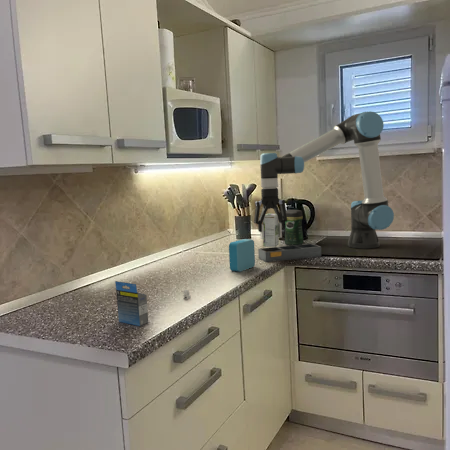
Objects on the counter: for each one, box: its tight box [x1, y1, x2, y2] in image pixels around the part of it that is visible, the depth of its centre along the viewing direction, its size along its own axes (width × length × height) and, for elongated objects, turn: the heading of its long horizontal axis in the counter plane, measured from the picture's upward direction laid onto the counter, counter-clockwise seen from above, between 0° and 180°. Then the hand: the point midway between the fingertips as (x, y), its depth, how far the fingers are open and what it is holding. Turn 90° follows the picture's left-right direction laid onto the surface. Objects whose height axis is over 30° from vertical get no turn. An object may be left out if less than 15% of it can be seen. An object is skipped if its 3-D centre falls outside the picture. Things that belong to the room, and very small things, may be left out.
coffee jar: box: [284, 209, 305, 246], centre depth 243 cm, size 10×8×19 cm
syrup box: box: [262, 213, 280, 248], centre depth 208 cm, size 6×6×14 cm
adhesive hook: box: [180, 289, 192, 300], centre depth 154 cm, size 3×3×3 cm
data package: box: [228, 238, 256, 273], centre depth 192 cm, size 12×4×12 cm, turn 140°
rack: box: [257, 243, 322, 263], centre depth 211 cm, size 27×10×4 cm, turn 105°
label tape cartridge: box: [114, 280, 149, 327], centre depth 132 cm, size 9×4×12 cm, turn 56°
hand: (271, 237), depth 208 cm, fingers closed on syrup box, 8 cm apart
